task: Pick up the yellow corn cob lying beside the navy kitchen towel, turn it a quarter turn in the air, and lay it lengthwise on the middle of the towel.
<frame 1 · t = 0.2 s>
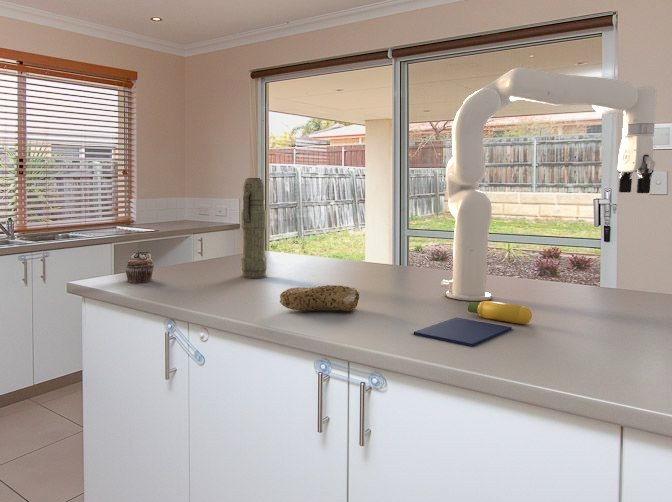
hand: (633, 192, 170), 31 cm above the worktop, tool pointing down, fingers open, 9 cm apart
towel: (463, 331, 137), on the worktop
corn: (503, 320, 148), on the worktop
cupcake: (139, 281, 204), on the worktop
thermos: (254, 277, 214), on the worktop
sponge: (319, 311, 159), on the worktop
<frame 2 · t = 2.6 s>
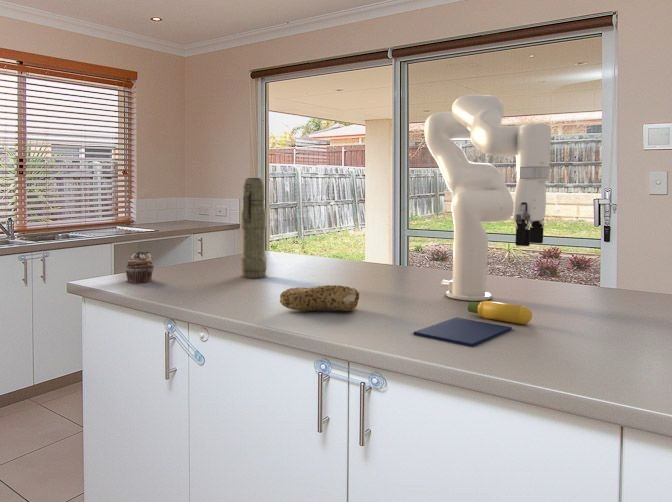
hand: (529, 244, 149), 19 cm above the worktop, tool pointing down, fingers open, 9 cm apart
nothing on the worktop moved.
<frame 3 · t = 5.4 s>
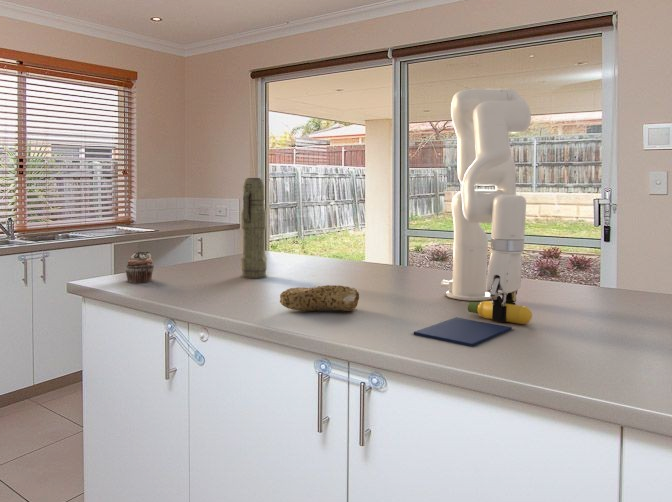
hand: (503, 318, 147), 1 cm above the worktop, tool pointing down, fingers closed on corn, 4 cm apart
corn: (503, 320, 148), on the worktop, touching gripper
everything else where it was.
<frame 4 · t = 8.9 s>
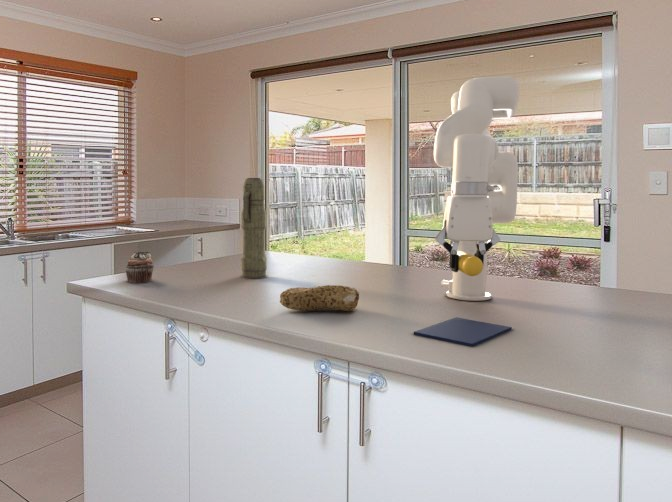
hand: (466, 270, 135), 14 cm above the worktop, tool pointing down, fingers closed on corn, 4 cm apart
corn: (466, 272, 135), point 14 cm above the worktop, touching gripper
everything else where it was.
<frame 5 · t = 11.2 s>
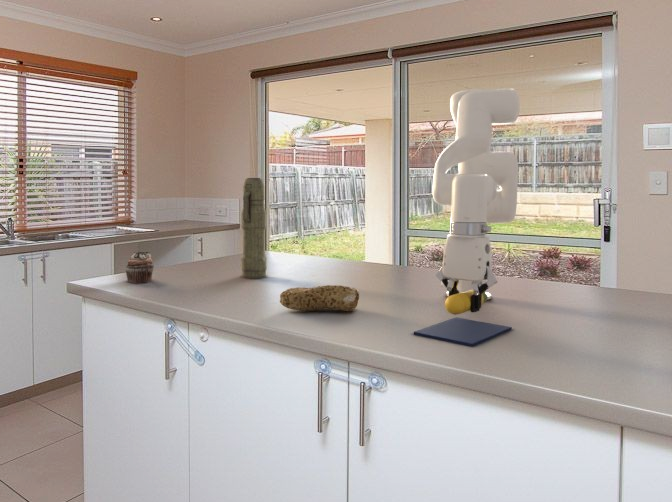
hand: (464, 308, 136), 5 cm above the worktop, tool pointing down, fingers closed on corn, 4 cm apart
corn: (464, 311, 136), point 5 cm above the worktop, touching gripper
everything else where it was.
when the fingers open (1 cm above the worktop, at t = 12.6 s): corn stays where it is, resting on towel.
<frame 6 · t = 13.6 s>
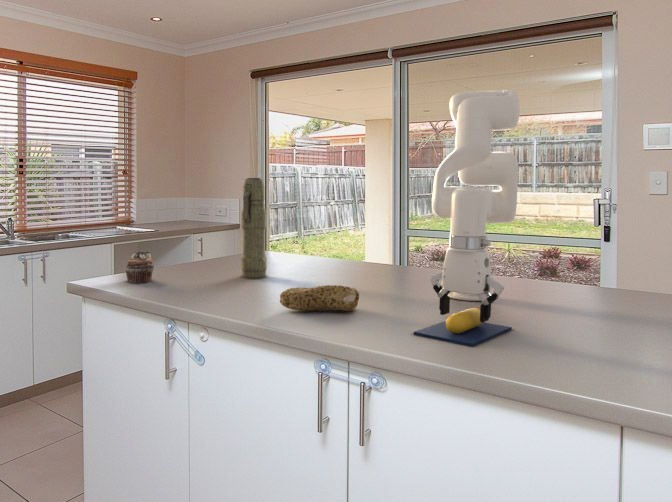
hand: (464, 317, 137), 3 cm above the worktop, tool pointing down, fingers open, 9 cm apart
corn: (463, 329, 137), point 1 cm above the worktop, tilted 9°, touching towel
everything else where it was.
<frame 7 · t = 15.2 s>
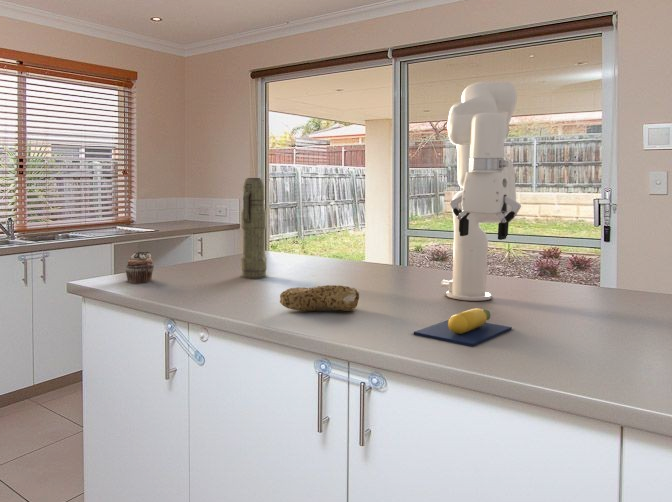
hand: (482, 237, 145), 21 cm above the worktop, tool pointing down, fingers open, 9 cm apart
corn: (463, 328, 137), point 1 cm above the worktop, tilted 25°, touching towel
everything else where it was.
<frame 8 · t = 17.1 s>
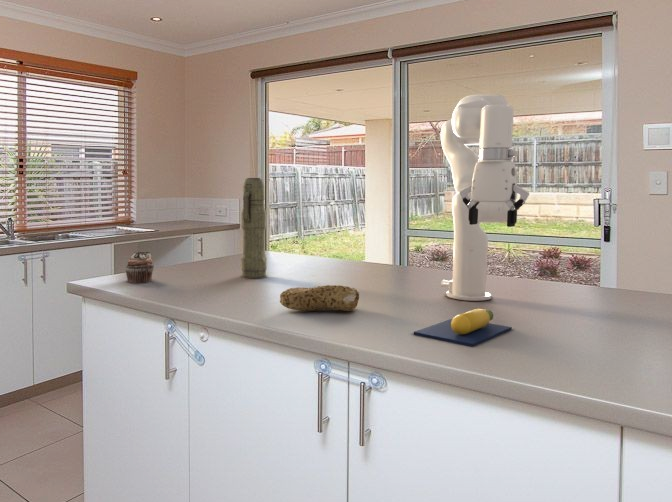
hand: (491, 225, 150), 23 cm above the worktop, tool pointing down, fingers open, 9 cm apart
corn: (464, 327, 137), point 1 cm above the worktop, tilted 43°, touching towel
everything else where it was.
at the end: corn inside the target area on the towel (0.2 cm from its centre), point 1.2 cm above the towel's base; the gripper is holding nothing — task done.
